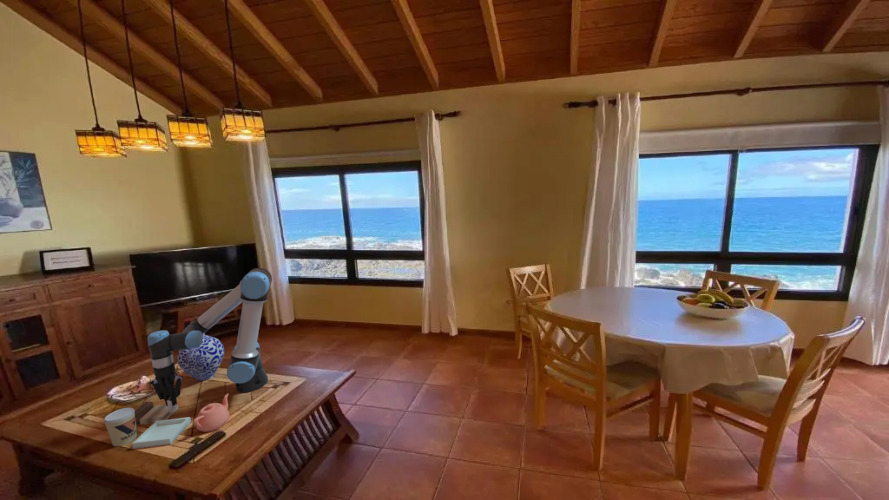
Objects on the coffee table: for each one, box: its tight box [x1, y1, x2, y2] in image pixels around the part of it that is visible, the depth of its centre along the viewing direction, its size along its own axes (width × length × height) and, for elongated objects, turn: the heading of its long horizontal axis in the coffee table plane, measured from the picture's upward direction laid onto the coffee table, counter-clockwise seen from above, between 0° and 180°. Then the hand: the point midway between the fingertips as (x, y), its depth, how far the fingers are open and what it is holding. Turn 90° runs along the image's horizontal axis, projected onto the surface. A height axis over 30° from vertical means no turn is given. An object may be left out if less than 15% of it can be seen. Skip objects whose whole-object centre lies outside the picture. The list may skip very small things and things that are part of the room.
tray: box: [131, 416, 192, 450], centre depth 147 cm, size 14×14×2 cm
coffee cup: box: [103, 407, 138, 447], centre depth 144 cm, size 9×9×12 cm
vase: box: [177, 326, 225, 382], centre depth 192 cm, size 22×22×30 cm
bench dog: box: [134, 401, 154, 426], centre depth 159 cm, size 3×10×5 cm, turn 7°
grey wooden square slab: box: [139, 403, 179, 425], centre depth 160 cm, size 10×10×3 cm
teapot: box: [192, 393, 230, 433], centre depth 153 cm, size 12×18×10 cm
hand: (173, 411), depth 161 cm, fingers closed
